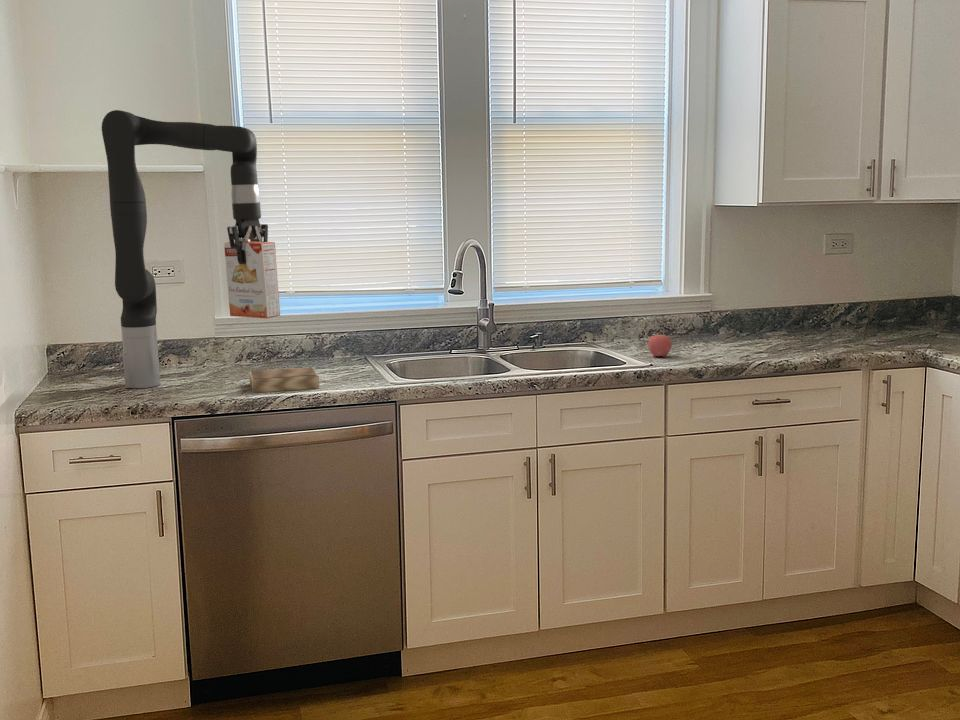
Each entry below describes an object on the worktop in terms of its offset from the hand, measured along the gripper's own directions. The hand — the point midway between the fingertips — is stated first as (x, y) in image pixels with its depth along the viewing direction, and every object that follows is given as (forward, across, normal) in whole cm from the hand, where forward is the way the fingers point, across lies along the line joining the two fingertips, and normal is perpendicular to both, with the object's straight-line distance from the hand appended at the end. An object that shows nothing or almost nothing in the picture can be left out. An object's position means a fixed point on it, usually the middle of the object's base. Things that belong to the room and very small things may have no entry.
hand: (250, 262), depth 257 cm
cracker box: (+15, 0, 0) cm, 15 cm away
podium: (+34, 0, -8) cm, 35 cm away
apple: (+37, +90, -89) cm, 132 cm away
